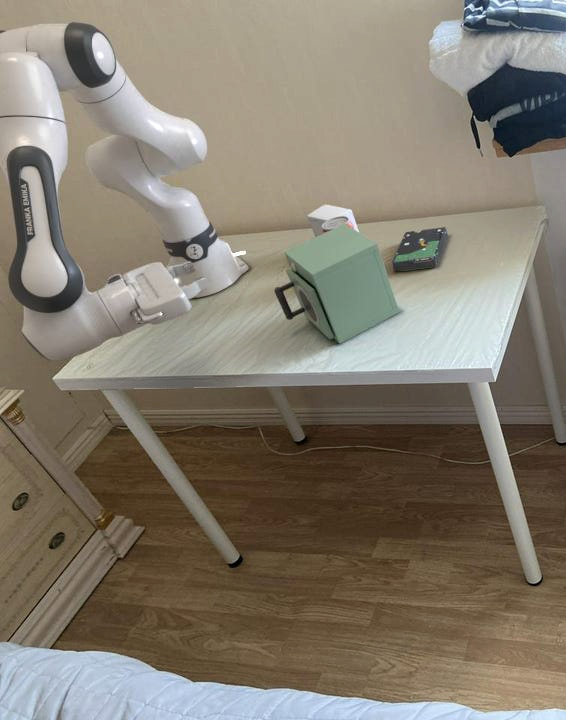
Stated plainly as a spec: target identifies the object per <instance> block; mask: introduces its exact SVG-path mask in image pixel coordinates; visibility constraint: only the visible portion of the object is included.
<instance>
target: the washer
mask: <svg viewBox="0 0 566 720" xmlns="http://www.w3.org/2000/svg"><path fill="white" fill-rule="evenodd" d="M283 253H284V256H285V258H286V260H287V262H288V265H289V267H290V269H291V270H292V271H293V272H294V273H295V274H297V275H298V276H299V277H300V278H301V279H302V280H304V281H305V282H306V283H307V284H308V285H309V286H311V287H312V288H313V289H314V290H315V292H316V295H317V297H318V300H319V302H320V305H321V307H322V310H323V312H324V314H325V317H326V319H327V322H328V324H329V327H330V329H331V332H332V334H333V337H334V338H333V339H334V340H335V341H336V342H337V343H339V344H342V343H345V342H346V341H348V340H350V339H352V338H354V337H356V336H357V335H360V334H361V333H363V332H365V331H368V330H369V329H371V328H373V327H374V326H377V325H379V324H380V323H383V322H385V321H386V320H388V319H390V318H391V317H393V316H395V315H398V314H399V313H400V309H399V306H398V303H397V300H396V297H395V294H394V291H393V288H392V286H391V283H390V282H391V281H390V279H389V276H388V272H387V269H386V267H385V264H384V260H383V258H382V255H381V251H380V249H379V245H378V243H377V242H375V241H374V240H372V239H370V238H369V237H367V236H365V235H364V234H362V233H360V231H359V232H357V231H356V230H354V229H353V228H351V227H349V226H348V225H346V224H343V225H341V226H339V227H337V228H335V229H333V230H330V231H328V232H326V233H324V234H322V235H319V236H317V237H315V236H314V237H313V238H311V239H309V240H306V241H305V242H302V243H300V244H298V245H296V246H294V247H291V248H289V249H287V250H285V251H283Z"/></svg>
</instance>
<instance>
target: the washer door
mask: <svg viewBox="0 0 566 720" xmlns="http://www.w3.org/2000/svg"><path fill="white" fill-rule="evenodd" d="M285 272H286V275H287V277H288V279H289V281H290V282H288V283H286V284H284V285H282V286H276V287H275V288H274V293H275V297H276V298H277V300H278V303H279V305H280V306H281V310H282V311H283V314H284V316H285V318H286V320H288V321H291V320H293V319H294V318H295V317H297V316H299V315H301V314H302V313H303V314H304V316H305V318H307V319H308V320H309V321H310V322H311V324H313V325H314V326H315V327H316V328H317V329H318V330H319V331H320V332H321V333H322V334H324V336H325V337H327V339H328V340H332V339H334V337H333V334H332V332H331V329H330V327H329V324H328V322H327V319H326V317H325V314H324V312H323V310H322V307H321V305H320V302H319V300H318V297H317V295H316V292H315V290H314V289H313V288H312V287H311V286H309V285H308V284H307V283H306V282H305V281H304V280H302V279H301V278H300V277H299V276H298V275H297V274H295V273H294V272H293V271H292V270H291V268H288V269H286V270H285ZM292 288H293V291H294V293H295V295H296V298H297V300H298V303H299V305H300V308H298V309H295V310H294V311H292V309H291V307H290V305H289V302H288V300H287V298H286V295H285V293H284V292H285V291H287V290H289V289H292Z"/></svg>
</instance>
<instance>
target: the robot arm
mask: <svg viewBox="0 0 566 720" xmlns="http://www.w3.org/2000/svg"><path fill="white" fill-rule="evenodd" d="M67 92H69V95H71V97H72V98H73V100H75V102H76V103H77V105H78V106H79V107H80V109H81V110H82V111H83V112H84V114H85V115H86V116H87V118H88V119H89V120H90V122H91V123H92V125H94V126H95V128H98V130H100V131H102V132H104V133H107V134H109V135H108V136H105V137H104V138H102V139H100V140H98V141H95V142H94V143H93V144H91V145H89V146H88V147H87V149H86V152H85V165H86V169H87V171H88V173H89V175H90V176H91V177H92V179H93V180H94V181H95V182H97V183H98V184H99V185H101V186H102V187H104V188H105V189H106V188H107V189H109V190H113V191H116V192H119V193H121V194H122V195H125V196H127V197H128V198H130V199H132V200H133V201H134V202H136V203H137V204H138V205H139V206H140V207H142V209H143V210H145V211H146V213H147V214H148V216H149V217H150V219H151V220H152V222H153V223H154V225H155V227H156V228H157V231H158V232H159V234H160V235H161V237H162V243H163V245H164V248H165V251H167V253H168V255H169V256H170V258H169V260H168V264H167V267H165V266H164V265H163V263H162V262H160V261H157V262H156V261H155V262H151V263H147V264H144V265H142V266H139V267H136V268H134V269H131V270H128V271H126V272H125V273H124V274H120V273H115V274H114V275H111V276H109V277H108V279H107V282H106V284H105V285H104V286H103V287H102V288H99V289H97V290H95V291H92V292H91V291H89V289H88V287H87V285H86V277H85V274H84V272H83V270H82V268H81V266H80V265H79V264H78V263H77V262H76V261H75V259H74V258H73V257H72V256H71V254H70V253H69V250H68V249H67V245H66V243H65V240H64V233H63V226H62V218H61V212H60V204H59V184H60V180H61V179H62V178H61V177H62V175H63V174H64V173H65V172H64V171H65V170H66V168H67V166H68V158H69V136H68V127H67V122H66V116H65V115H66V114H65V110H64V106H63V102H62V97H61V94H62V93H67ZM110 134H111V135H110ZM207 154H208V142H207V138H206V136H205V133H204V131H203V130H202V128H200V127H199V126H198V125H197V123H195V122H194V121H192V120H191V119H189V118H187V117H185V118H184V117H180V116H176V115H173V114H170V113H167V112H165V111H163V110H161V109H159V108H157V107H156V106H154V105H153V104H151V103H150V102H149V101H148V100H147V99H146V98H145V97H144V96H143V95H142V94H141V92H140V91H139V90H138V88H137V87H136V86H135V84H134V83H133V81H132V80H131V79H130V77H129V76H128V74H127V72H126V71H125V70H124V68H123V66H122V65H121V63H120V62H119V60H117V58H116V54H115V51H114V48H113V45H112V43H111V41H110V39H109V38H108V37H107V35H106V34H105V33H104V32H102V31H101V30H100V29H99V28H98V27H96V26H95V25H92V24H90V23H85V22H77V21H73V22H70V23H39V24H38V23H37V24H33V25H30V26H29V25H28V26H24V27H23V26H22V27H17V28H13V29H10V30H3V29H2V30H0V168H1V170H2V173H3V175H4V177H5V179H6V182H7V185H8V188H9V192H10V199H11V205H12V213H13V220H14V228H15V236H16V250H15V252H14V253H15V254H14V257H13V259H12V262H11V265H10V267H9V271H8V277H7V283H8V286H9V289H10V292H11V294H12V296H13V297H14V298H15V299H16V301H17V302H19V303H20V305H22V306H23V321H22V327H21V334H22V336H23V338H24V339H25V341H26V342H27V344H28V345H29V346H30V347H31V348H32V349H33V350H34V351H35V353H37V354H38V355H39V356H41V357H42V358H44V359H46V360H48V361H52V362H62V361H66V360H69V359H73V358H76V357H78V356H80V355H83V354H85V353H88V352H90V351H93V350H94V349H97V348H99V347H101V346H102V345H103V344H104V343H106V342H107V341H108V340H111V339H115V338H121V337H123V336H125V335H127V334H129V333H131V332H134V331H136V330H138V329H140V328H142V327H145V326H146V325H148V324H150V325H152V326H154V325H155V326H156V325H159V324H163V323H165V322H168V321H171V320H173V319H176V318H178V317H180V316H183V315H186V314H187V313H189V312H190V310H191V309H192V308H193V306H192V304H191V302H190V300H191V299H194V298H203V297H207V296H210V295H214V294H217V293H219V292H221V291H223V290H224V289H225V290H226V288H228V287H230V286H231V285H233V284H234V283H236V281H237V280H239V278H240V277H241V276H242V275H243V274H245V273H246V272H247V271H249V270H250V267H249V265H248V264H247V263H245V262H244V260H243V259H241V258H240V257H239V256H241V255H246V254H247V252H246V250H243V251H242V250H241V251H238V252H233V251H232V249H231V246H230V245H229V243H228V242H225V240H223V239H221V238H219V237H218V233H217V230H216V228H215V226H214V225H213V224H212V222H210V221H209V219H208V217H207V215H206V213H205V211H204V209H203V207H202V204H201V203H200V200H199V198H198V197H197V196H196V194H194V193H193V192H192V191H191V190H189V189H187V188H184V187H178V186H173V185H170V184H168V183H166V182H165V181H163V180H162V179H161V178H163V177H167V176H170V175H173V174H177V173H180V172H185V171H187V170H190V169H191V168H194V167H195V166H197V165H199V164H201V163H202V162H204V161H205V159H206V157H207Z"/></svg>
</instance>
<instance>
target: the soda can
mask: <svg viewBox="0 0 566 720" xmlns="http://www.w3.org/2000/svg"><path fill="white" fill-rule="evenodd" d="M343 224H346V225H348V226H349V227H351V228H353V229H354V226H353V224H352V223H351V222H350V221H349V219H348V217H346V216H339V217H335V218H332V219H329V220H327V221H326V222H325V223H323V225H322V229H323V231H322V234H324V233H326V232H328V231H330V230H333V229H335V228H337V227H339V226H341V225H343ZM354 230H355V229H354Z"/></svg>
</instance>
